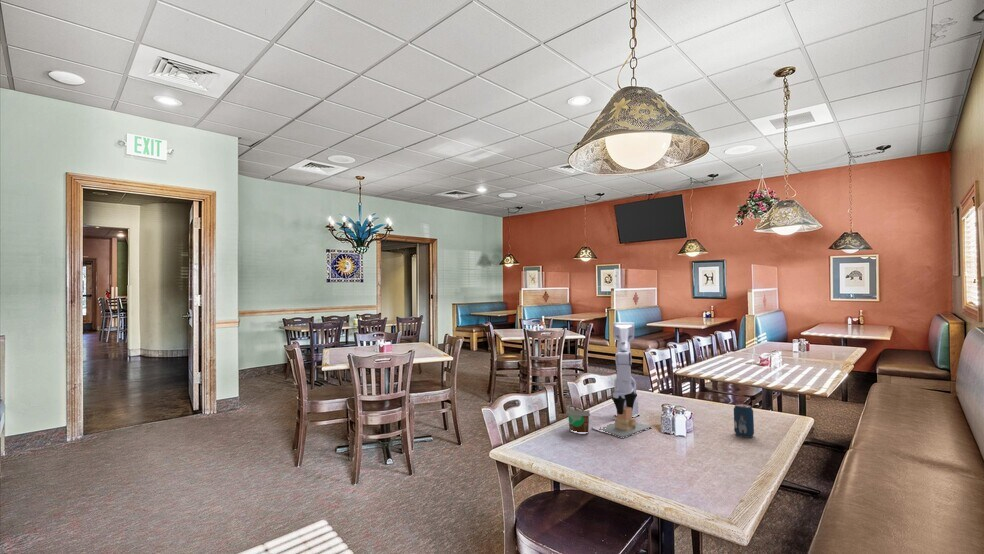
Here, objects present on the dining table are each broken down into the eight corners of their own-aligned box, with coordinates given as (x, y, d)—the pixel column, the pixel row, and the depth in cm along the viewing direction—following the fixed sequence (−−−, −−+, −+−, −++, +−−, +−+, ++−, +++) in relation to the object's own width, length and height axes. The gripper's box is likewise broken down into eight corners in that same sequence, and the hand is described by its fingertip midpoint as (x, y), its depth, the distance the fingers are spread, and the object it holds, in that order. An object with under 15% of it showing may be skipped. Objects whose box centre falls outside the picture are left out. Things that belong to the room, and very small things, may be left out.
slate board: (620, 419, 202) (620, 418, 202) (651, 428, 189) (651, 426, 189) (591, 429, 190) (591, 427, 190) (622, 438, 177) (622, 436, 177)
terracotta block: (622, 416, 192) (622, 405, 192) (632, 418, 188) (631, 407, 189) (616, 418, 189) (616, 407, 189) (626, 420, 185) (626, 409, 186)
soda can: (749, 432, 182) (748, 403, 182) (757, 438, 175) (756, 407, 175) (731, 432, 182) (730, 403, 183) (739, 438, 175) (738, 407, 176)
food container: (561, 428, 191) (560, 405, 191) (572, 426, 194) (572, 403, 194) (578, 437, 180) (577, 412, 180) (590, 435, 183) (589, 410, 183)
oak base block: (623, 424, 192) (623, 415, 193) (635, 428, 188) (635, 418, 188) (615, 427, 189) (614, 418, 189) (627, 431, 184) (626, 421, 184)
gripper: (624, 376, 197) (625, 407, 196) (606, 381, 187) (607, 413, 186) (639, 378, 191) (640, 410, 191) (621, 383, 182) (622, 417, 181)
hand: (625, 412), depth 188 cm, fingers open, 7 cm apart
